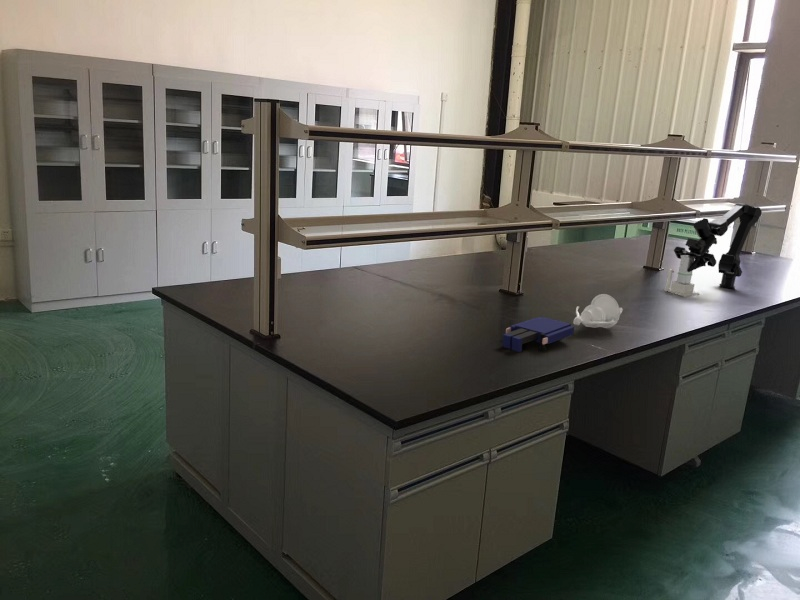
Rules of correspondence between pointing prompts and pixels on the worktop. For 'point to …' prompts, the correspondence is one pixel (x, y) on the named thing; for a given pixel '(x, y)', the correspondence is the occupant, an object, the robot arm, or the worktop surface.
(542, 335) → the blue flat boxy piece
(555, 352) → the worktop surface
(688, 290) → the stand
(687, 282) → the column
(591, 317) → the figurine
